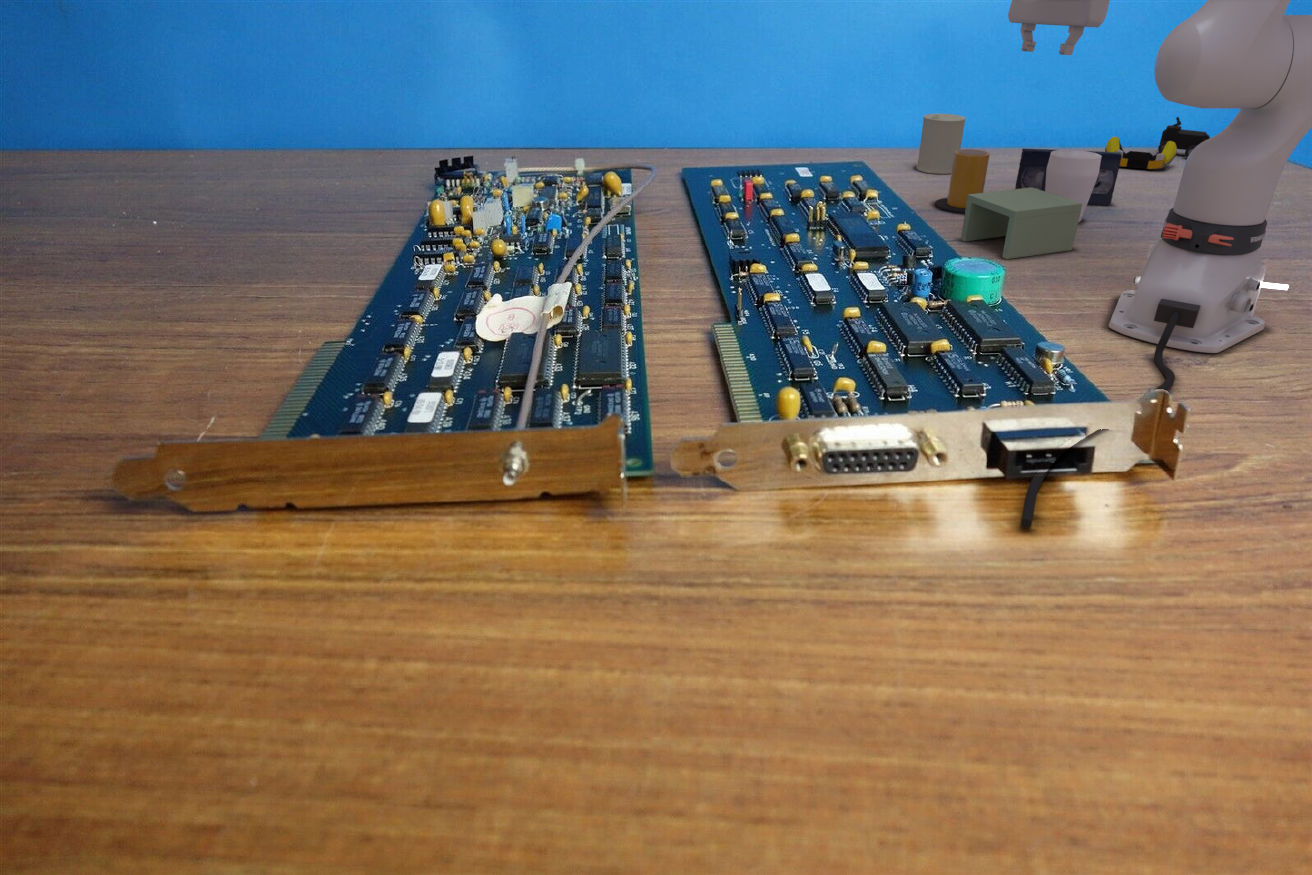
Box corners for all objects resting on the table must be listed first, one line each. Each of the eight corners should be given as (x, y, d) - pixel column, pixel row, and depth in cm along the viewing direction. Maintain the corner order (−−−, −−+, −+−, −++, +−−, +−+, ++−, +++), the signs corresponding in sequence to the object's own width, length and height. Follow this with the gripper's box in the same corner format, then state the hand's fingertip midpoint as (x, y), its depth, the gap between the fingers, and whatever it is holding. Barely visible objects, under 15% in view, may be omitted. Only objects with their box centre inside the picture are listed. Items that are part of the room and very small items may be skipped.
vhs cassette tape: (1013, 200, 189) (1023, 150, 184) (1012, 197, 192) (1021, 147, 187) (1111, 206, 185) (1123, 155, 180) (1108, 202, 188) (1120, 152, 183)
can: (907, 167, 215) (915, 113, 210) (939, 163, 219) (947, 110, 213) (934, 175, 208) (942, 119, 202) (966, 171, 211) (975, 116, 206)
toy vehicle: (1161, 150, 234) (1170, 113, 229) (1228, 157, 226) (1239, 120, 222) (1154, 155, 228) (1164, 118, 224) (1223, 163, 220) (1234, 125, 216)
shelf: (1023, 231, 170) (1031, 187, 166) (1072, 250, 160) (1082, 203, 156) (960, 239, 165) (967, 194, 161) (1006, 259, 155) (1015, 211, 151)
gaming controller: (1103, 158, 224) (1100, 167, 217) (1108, 135, 222) (1106, 142, 214) (1172, 165, 219) (1172, 173, 211) (1178, 140, 216) (1178, 148, 208)
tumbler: (972, 210, 180) (981, 157, 176) (941, 204, 184) (948, 152, 179) (986, 203, 185) (995, 152, 180) (955, 198, 188) (963, 147, 184)
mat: (977, 217, 178) (978, 214, 178) (924, 207, 184) (925, 204, 184) (1001, 206, 185) (1002, 203, 185) (949, 197, 191) (950, 194, 191)
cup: (1092, 227, 172) (1107, 161, 166) (1040, 224, 174) (1054, 158, 168) (1082, 214, 180) (1096, 150, 174) (1033, 211, 182) (1046, 148, 176)
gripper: (1009, -34, 169) (992, 48, 175) (1095, -36, 152) (1074, 56, 157) (1036, -31, 171) (1019, 50, 177) (1124, -32, 154) (1102, 58, 160)
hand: (1045, 53), depth 167 cm, fingers open, 8 cm apart
